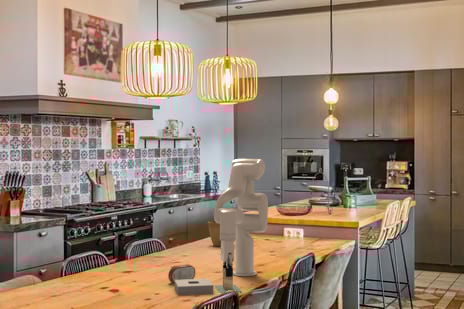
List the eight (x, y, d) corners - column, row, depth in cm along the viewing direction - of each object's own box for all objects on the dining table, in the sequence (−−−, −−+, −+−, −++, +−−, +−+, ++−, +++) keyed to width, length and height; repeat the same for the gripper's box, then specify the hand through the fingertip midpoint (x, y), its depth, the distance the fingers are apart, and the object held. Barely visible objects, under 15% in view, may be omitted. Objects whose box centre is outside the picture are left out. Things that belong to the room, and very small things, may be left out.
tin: (192, 279, 305) (192, 262, 305) (196, 280, 302) (196, 263, 302) (167, 284, 295) (167, 266, 295) (171, 285, 292) (171, 267, 292)
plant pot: (226, 247, 400) (226, 223, 400) (204, 246, 405) (204, 222, 405) (232, 244, 415) (233, 220, 414) (212, 243, 419) (212, 220, 419)
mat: (214, 286, 290) (214, 285, 290) (235, 285, 291) (235, 284, 291) (219, 293, 276) (219, 292, 276) (241, 292, 278) (241, 291, 278)
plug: (222, 287, 285) (222, 268, 285) (231, 287, 286) (231, 267, 286) (224, 289, 281) (224, 270, 281) (232, 289, 282) (232, 269, 282)
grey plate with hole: (174, 288, 286) (174, 279, 286) (208, 286, 289) (208, 278, 289) (177, 295, 272) (177, 286, 272) (213, 294, 275) (213, 285, 275)
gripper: (216, 234, 291) (216, 271, 291) (223, 239, 274) (223, 279, 274) (232, 233, 293) (232, 271, 293) (239, 239, 276) (239, 278, 276)
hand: (227, 274), depth 284 cm, fingers open, 7 cm apart
